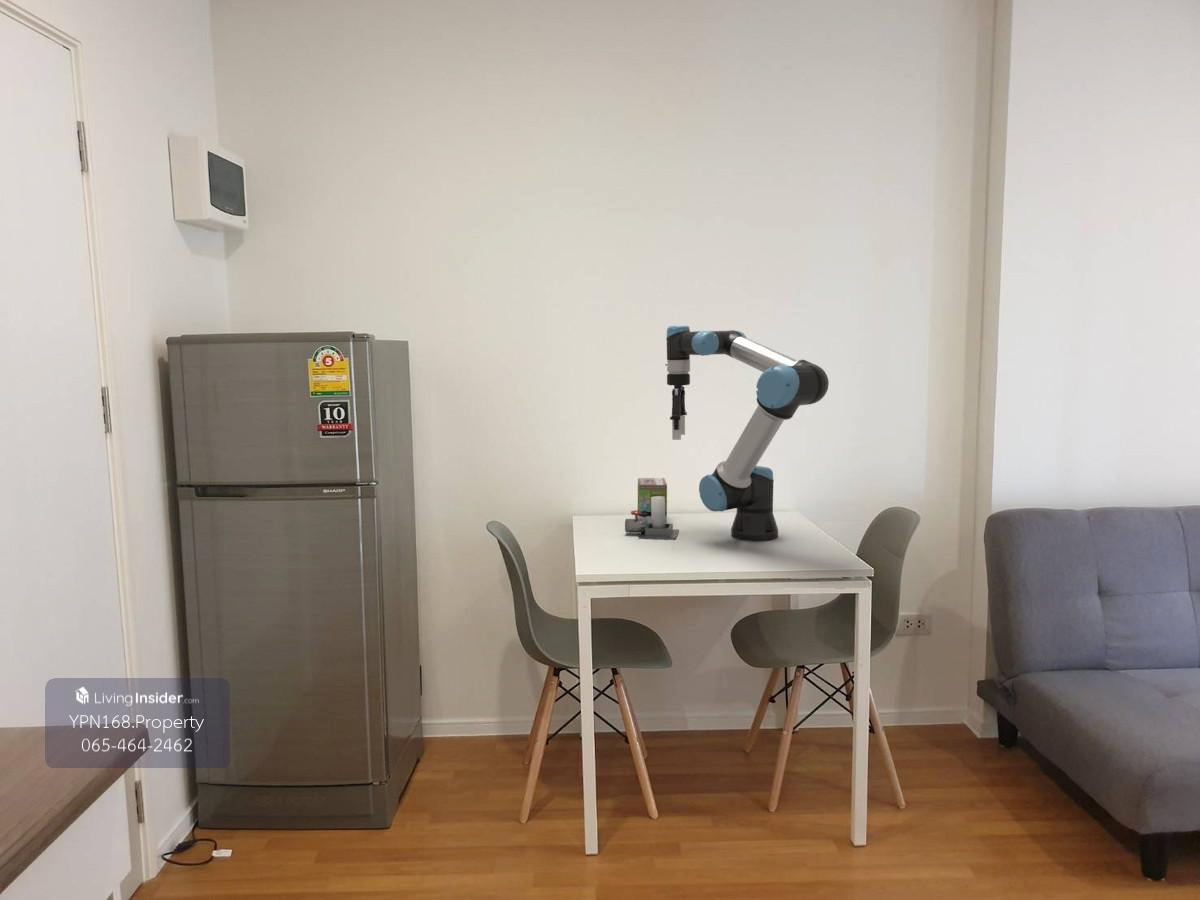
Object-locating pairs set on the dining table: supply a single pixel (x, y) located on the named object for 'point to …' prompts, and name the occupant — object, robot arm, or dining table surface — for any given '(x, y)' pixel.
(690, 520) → the dining table surface
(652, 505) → the pipe
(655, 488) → the tea box
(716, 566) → the dining table surface
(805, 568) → the dining table surface
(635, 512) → the grey knobbed block
